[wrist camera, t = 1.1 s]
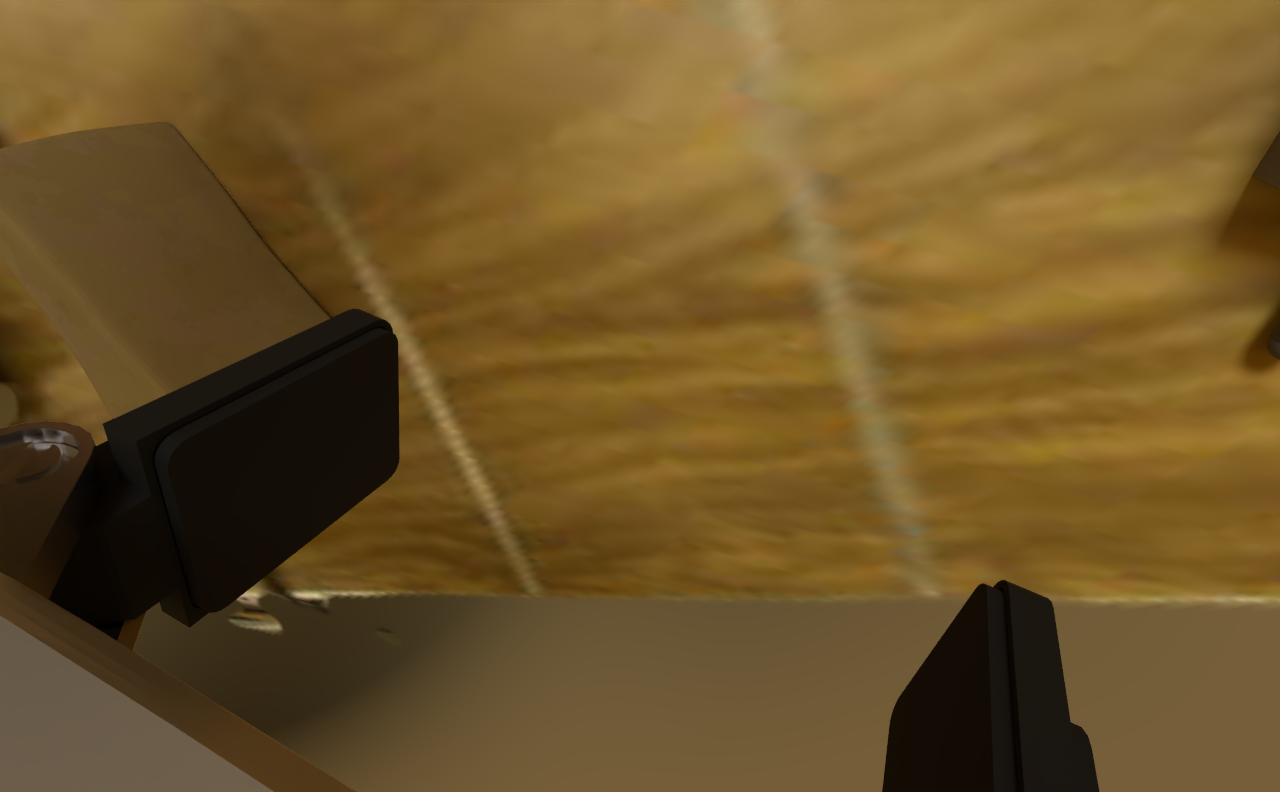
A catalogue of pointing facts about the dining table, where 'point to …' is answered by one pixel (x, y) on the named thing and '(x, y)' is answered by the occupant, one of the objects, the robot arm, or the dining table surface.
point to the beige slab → (142, 260)
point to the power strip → (1276, 171)
